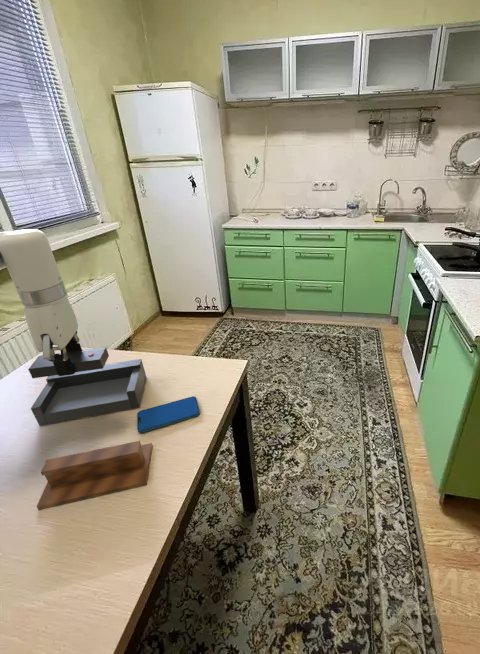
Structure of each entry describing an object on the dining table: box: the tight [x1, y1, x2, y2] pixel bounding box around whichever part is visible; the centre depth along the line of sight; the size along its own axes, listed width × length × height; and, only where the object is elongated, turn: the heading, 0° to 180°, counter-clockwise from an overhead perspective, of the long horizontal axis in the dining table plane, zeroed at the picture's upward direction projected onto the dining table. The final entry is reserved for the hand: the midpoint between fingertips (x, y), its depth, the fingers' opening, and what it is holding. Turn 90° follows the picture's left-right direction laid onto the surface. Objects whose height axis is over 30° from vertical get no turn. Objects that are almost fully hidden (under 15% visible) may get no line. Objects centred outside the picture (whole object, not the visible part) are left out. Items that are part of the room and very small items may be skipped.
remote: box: [27, 346, 110, 379], centre depth 72 cm, size 14×5×3 cm, turn 103°
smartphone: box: [136, 395, 201, 434], centre depth 84 cm, size 7×1×15 cm
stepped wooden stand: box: [36, 440, 153, 511], centre depth 68 cm, size 20×10×6 cm, turn 104°
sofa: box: [30, 358, 147, 427], centre depth 89 cm, size 24×13×7 cm, turn 104°
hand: (72, 365), depth 73 cm, fingers closed on remote, 5 cm apart
